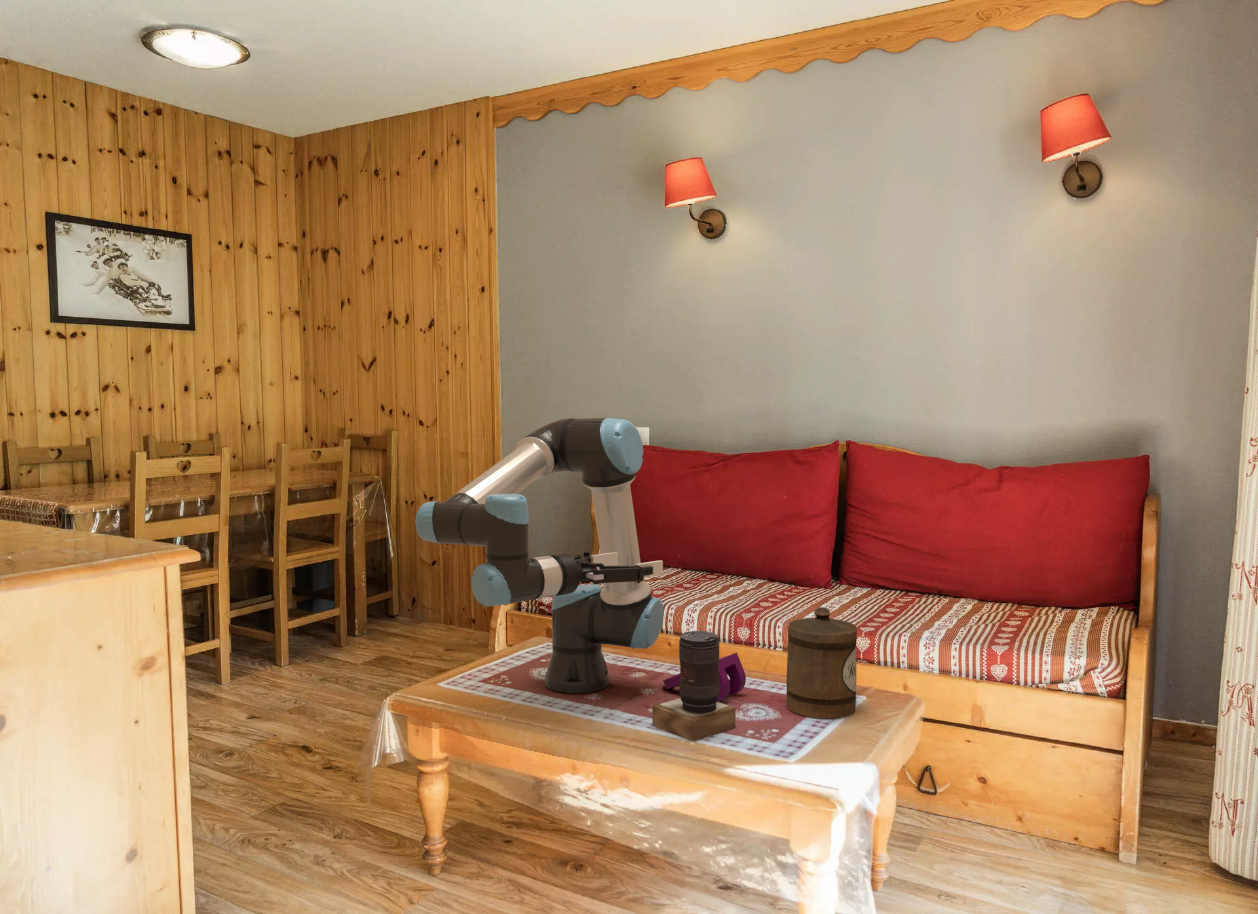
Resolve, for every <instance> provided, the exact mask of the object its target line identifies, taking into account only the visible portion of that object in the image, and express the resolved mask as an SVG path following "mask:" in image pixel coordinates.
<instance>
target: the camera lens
mask: <svg viewBox="0 0 1258 914" xmlns="http://www.w3.org/2000/svg"><path fill="white" fill-rule="evenodd" d="M679 637H680V638H679V640H678V641H679V642H678V643H679V644H678V646H679V647H678V657H679V668H680V669H679V673H680V685H679V695H680V697H679V698H681V701H682V702H683V709H684V710H685V711H688V712H691V713H710V712H713V711H715V710H716V703H717V701H718V695H719V659H720V640H719V636H718V634H716V633H715V632H712V631H706V630H690V631H685V632H683V633H681V634H680V636H679Z"/></svg>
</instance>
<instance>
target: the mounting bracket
mask: <svg viewBox="0 0 1258 914" xmlns="http://www.w3.org/2000/svg"><path fill="white" fill-rule="evenodd" d="M746 676H747V675H746V672H745V670H744V668H743V664H742V663H741V659H740V657H739V654H738V652H734V653H731V654H729V655H726V656H723V657H721V658H720V657H719V695H718V701H717V702H720V703H721V702H722V701H724V700H726V699H727V698H728V697H729V696H730V697H731V696H734V695H737V694H738V693H739V692H741V691H742V690H743V689H744V688H745V686H746V683H747V677H746ZM662 682H663V684H664V685H663V686H664V687H665V689H666V690H669V689H671V688H674V687H678V686H680V672H679V673H677V674H674V675H672V676H669V677H667V678H665V679H663V680H662Z"/></svg>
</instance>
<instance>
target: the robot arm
mask: <svg viewBox="0 0 1258 914" xmlns="http://www.w3.org/2000/svg"><path fill="white" fill-rule="evenodd" d="M643 445H644V444H643V440H642V437H641V435H640V432H639V430H638V429H637V427H636V426H635V425H634V424H633V423H632V422H631V421H629V420H627V419H622V418H615V417H614V418H613V417H602V418H601V417H600V418H597V417H596V418H595V417H594V418H593V417H592V418H575V417H573V418H572V417H571V418H570V417H569V418H563V419H558V420H555V421H551V422H550V423H547V424H546V425H543V426H541V427H539V428H537V429H535V430H534V431H531V432H530V433H529V434H527V435H526V436H524V437H523V438H521V439H520V440H519V441H518V442H517V444H516V445H515V448H514V450H513V451H511V452H510V453H509V454H507V455H506V456H505V457H503V458H502V459H501V460H500V461H498V462H497V463H495V464H494V465H493V466H491V467H490V468H488V469H487V470H486V471H484V472H483V473H482V474H480V475H479V476H477V477H476V478H475V479H473V480H472V481H471V482H469V483H468V484H467V485H465V486H463V488H461V489H460V490H458V491H457V492H456V493H454V494H453V495H452V496H450V497H448V498H447V499H446V500H444V501H438V500H435V501H427V502H425V503H423V504H422V505H420V506H419V508H418V510H417V512H416V515H415V523H414V524H415V529H416V533H417V535H418V536H419V538H421V539H422V540H423V541H426V542H431V543H437V544H438V545H441V544H448V545H464V546H478V547H485V562H484V563H482V564H480V565H478V566H476V568H474V571H473V575H472V577H471V589H472V593H473V596H474V598H475V599H476V601H477V602H478V603H479V604H481V605H483V606H484V607H494V606H497V607H498V606H508V605H512V604H517V603H522V602H527V601H533V600H536V601H537V602H542V601H543V598H552V603H551V626H552V629H551V632H552V635H551V637H552V640H551V641H552V643H551V644H552V652H551V656H550V660H549V662H548V666H547V671H546V673H545V676H544V677H545V678H544V680H545V681H544V684H545V685H544V686H545V687H546V688H547V689H549V690H551V691H553V690H554V691H555V692H557V693H563V692H564V693H563V694H586V693H593V692H598V691H601V690H604V689H605V688H607V687H608V686H609V685H610V672H609V670H608V666H607V663H606V660H605V658H604V657H605V656H604V655H603V650H602V645H609V646H617V647H625V648H630V649H633V650H634V649H644V650H646V649H649V648H651V647H652V646H653V645H654V644H655V643H656V642H657V639H658V637H659V635H660V634H661V630H662V627H663V626H662V625H663V621H664V613H665V612H664V603H663V601H662V600H661V599H660V598H658V597H655V596H654V597H653V595H652V589H651V585H650V584H649V583H648V582H646V581H644V580H645V578H650V577H656V576H657V577H658V576H663V574H664V572H663V571H664V567H663V566H664V561H663V560H655V561H653V560H652V561H648V562H641V557H640V548H639V541H638V533H637V525H636V520H635V519H636V518H635V511H634V503H633V497H632V491H631V490H632V489H631V484H632V483H633V481H634V480H635V479H636V475H637V474H636V473H637V472H639V471H640V470H641V467H642V465H643V461H644V458H643V456H644V446H643ZM561 472H571V473H572V472H573V473H580V474H581V478H582V483H583V485H584V487H586V488H588V489H589V490H590V492H591V493H590V494H591V500H592V505H593V512H594V513H593V514H594V519H595V524H596V525H595V526H596V531H597V533H596V534H597V537H598V538H597V539H598V546H599V554H592V555H590V552H589V551H584V552H583V556H582V555H580V554H576V555H573V556H572V555H570V554H569V553H561V554H554V555H545V556H543V555H541V556H538V557H537V556H536V557H531V558H529V522H530V517H529V507H528V505H529V504H528V499H527V498H526V496H524V495H523V494H519V493H521V492H523V490H525V489H526V488H527V487H528V486H530V485H531V484H532V483H533V482H534V481H536V480H541V479H545V478H547V477H549V475H551V474H553V473H561ZM591 583H592V584H591ZM600 584H605V585H604V587H603V588H602V585H600Z"/></svg>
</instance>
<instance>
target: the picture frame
mask: <svg viewBox="0 0 1258 914" xmlns="http://www.w3.org/2000/svg"><path fill="white" fill-rule="evenodd" d="M736 711H737V710H736V707H734V706H730V705H727V704H725V703H723V702H721V701H720V702H717V703H716V710H715V711H713V712H710V713H691V712H688V711H685V710H684V709H683V702H682V701H681V697H678V698H675V699H670V700H669V701H664V702H662V703H658V704H655V705H652V715H651V716H652V717H651V718H652V719H651V720H652V726H653V727H656V728H658V729H661V730H663V731H666V732H668V733H671V734H674V735H676V736H678V737H682V738H684V739H686V740H689V741H692V742H697V741H699V740H702V739H706V738H709V737H711V736H715V735H718V734H719V733H722V732H725V731H729V730H731V729H735V728H736V719H737V717H736Z"/></svg>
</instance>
